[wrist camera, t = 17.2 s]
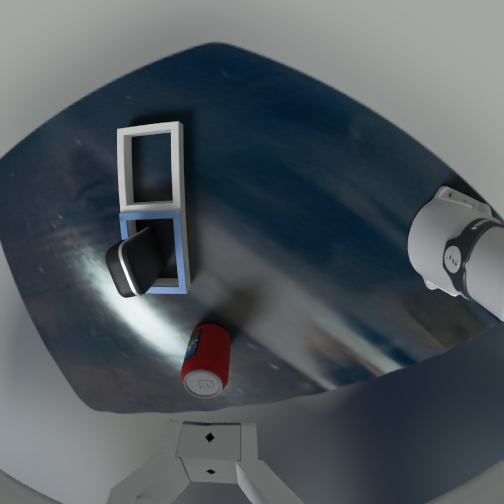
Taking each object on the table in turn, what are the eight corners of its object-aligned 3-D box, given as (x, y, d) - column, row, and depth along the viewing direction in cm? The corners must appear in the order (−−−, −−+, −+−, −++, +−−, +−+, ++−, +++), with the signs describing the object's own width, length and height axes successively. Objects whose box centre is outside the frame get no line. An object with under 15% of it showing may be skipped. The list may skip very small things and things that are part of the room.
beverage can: (188, 321, 45) (173, 367, 34) (228, 319, 45) (224, 366, 34) (195, 353, 47) (184, 401, 36) (233, 352, 47) (230, 401, 36)
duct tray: (183, 124, 36) (177, 120, 33) (190, 284, 43) (186, 293, 40) (125, 131, 36) (115, 129, 33) (137, 283, 43) (130, 292, 40)
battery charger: (131, 230, 41) (97, 253, 30) (152, 224, 41) (122, 244, 30) (146, 272, 43) (118, 305, 32) (167, 266, 43) (144, 299, 32)
